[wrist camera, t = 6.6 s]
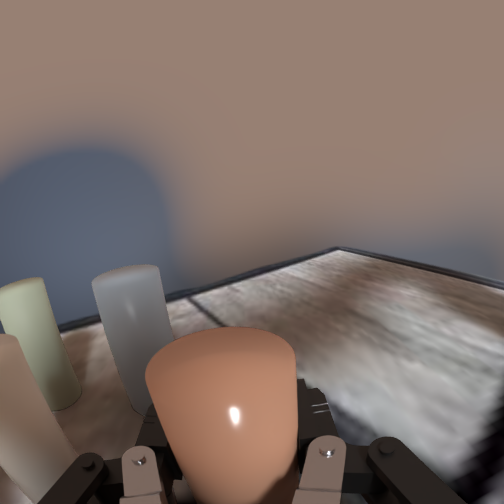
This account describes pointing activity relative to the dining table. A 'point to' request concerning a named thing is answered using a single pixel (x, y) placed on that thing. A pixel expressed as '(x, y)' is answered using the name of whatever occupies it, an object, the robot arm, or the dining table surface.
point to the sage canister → (39, 340)
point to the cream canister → (28, 427)
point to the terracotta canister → (230, 413)
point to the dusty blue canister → (133, 324)
